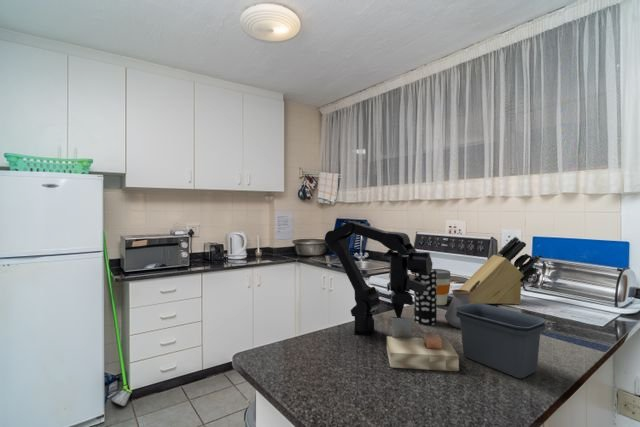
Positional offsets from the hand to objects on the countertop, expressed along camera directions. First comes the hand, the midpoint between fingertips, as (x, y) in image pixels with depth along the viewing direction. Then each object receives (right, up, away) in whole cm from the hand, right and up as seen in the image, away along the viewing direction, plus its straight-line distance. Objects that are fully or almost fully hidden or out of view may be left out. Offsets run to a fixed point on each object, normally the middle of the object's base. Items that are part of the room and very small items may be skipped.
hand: (398, 317), depth 108 cm
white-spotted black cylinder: (+15, -8, +19) cm, 25 cm away
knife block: (+59, -8, +48) cm, 76 cm away
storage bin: (+25, -8, -16) cm, 30 cm away
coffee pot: (+31, -8, +18) cm, 37 cm away
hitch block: (+3, -8, -14) cm, 16 cm away
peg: (+6, -8, -14) cm, 17 cm away
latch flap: (-1, 0, -8) cm, 8 cm away
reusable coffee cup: (+29, -8, +46) cm, 55 cm away
